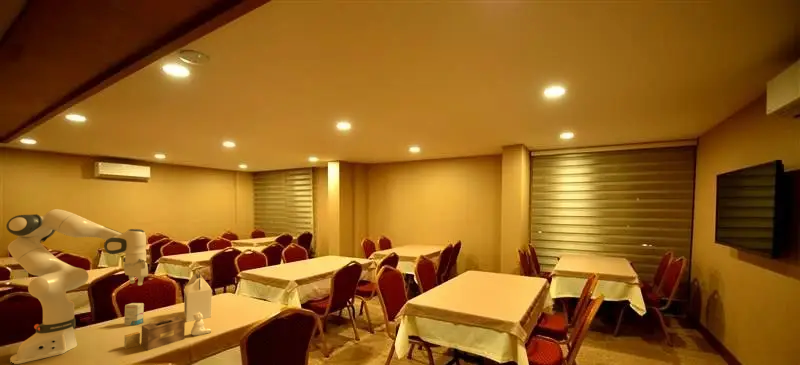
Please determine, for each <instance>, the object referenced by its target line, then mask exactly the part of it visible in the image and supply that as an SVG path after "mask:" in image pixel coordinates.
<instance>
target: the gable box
mask: <svg viewBox="0 0 800 365" xmlns="http://www.w3.org/2000/svg"><path fill="white" fill-rule="evenodd" d="M195 272H196V273H195ZM193 273H194V274H193V275H192V277H191V278H190V279H189V281H188V282H187V283H186V285H185V286H184V299H183V300H184V304H183V306H184V311H183V314H184V317H185V322H187V323H188V322H195V321H196V320H195V319H194V317H193V314H196V313H197V312H200V313H201V314H202V317H203V318H202V320H203V319H209V318H211V317H212V293H213V292H212V291H213V290H212V288H211V286H210V285H209V283H208V282H207V281H206V280H205V278H204V277H203V276H202V274H201V273H200V271H199V270H198V269H196V271H194V272H193Z"/></svg>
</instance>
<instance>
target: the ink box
mask: <svg viewBox="0 0 800 365" xmlns="http://www.w3.org/2000/svg"><path fill="white" fill-rule="evenodd" d="M144 307H145V304H144V303H143V302H131V303H128V304H125V306H124V320H123V321H124V322H123V325H124V326H138V325H140V324H143V323H144V310H145V309H144Z"/></svg>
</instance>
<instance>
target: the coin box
mask: <svg viewBox="0 0 800 365" xmlns="http://www.w3.org/2000/svg"><path fill="white" fill-rule="evenodd" d="M185 322H186V319H183V318H181V317H179V316H177V315H176V316H173V317H169V318H165V319H161V320H159V321H154V322H150V323H146V324H142V325H141V335H140V344H141V346H142V347H143V348H144V349H145V350H147V351H150V350H154V349H157V348H160V347H163V346H167V345H170V344H173V343H176V342H179V341H183V340H185V328H186V327H185V326H186V324H185Z"/></svg>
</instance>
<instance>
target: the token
mask: <svg viewBox="0 0 800 365" xmlns="http://www.w3.org/2000/svg"><path fill="white" fill-rule="evenodd" d="M123 342H124V343H123V344H124V345H123V347H124V349H126V350H128V349H131V348H134V347H137V346H140V344H141V332H139V331H136V332H132V333H129V334H125V335H124V341H123Z"/></svg>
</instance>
